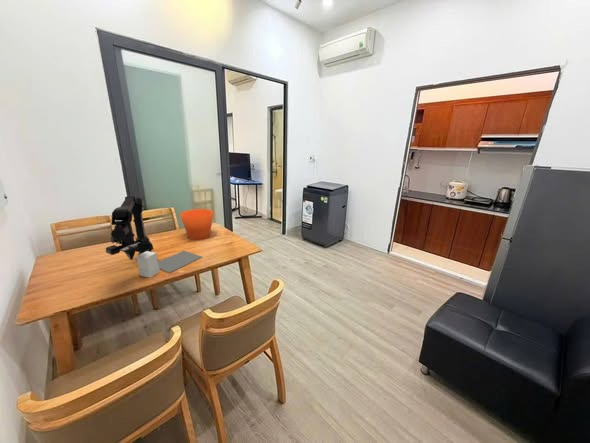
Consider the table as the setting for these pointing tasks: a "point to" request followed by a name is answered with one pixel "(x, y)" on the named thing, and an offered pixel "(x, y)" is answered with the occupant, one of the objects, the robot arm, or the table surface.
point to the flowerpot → (197, 223)
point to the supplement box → (148, 264)
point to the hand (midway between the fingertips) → (131, 259)
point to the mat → (177, 261)
